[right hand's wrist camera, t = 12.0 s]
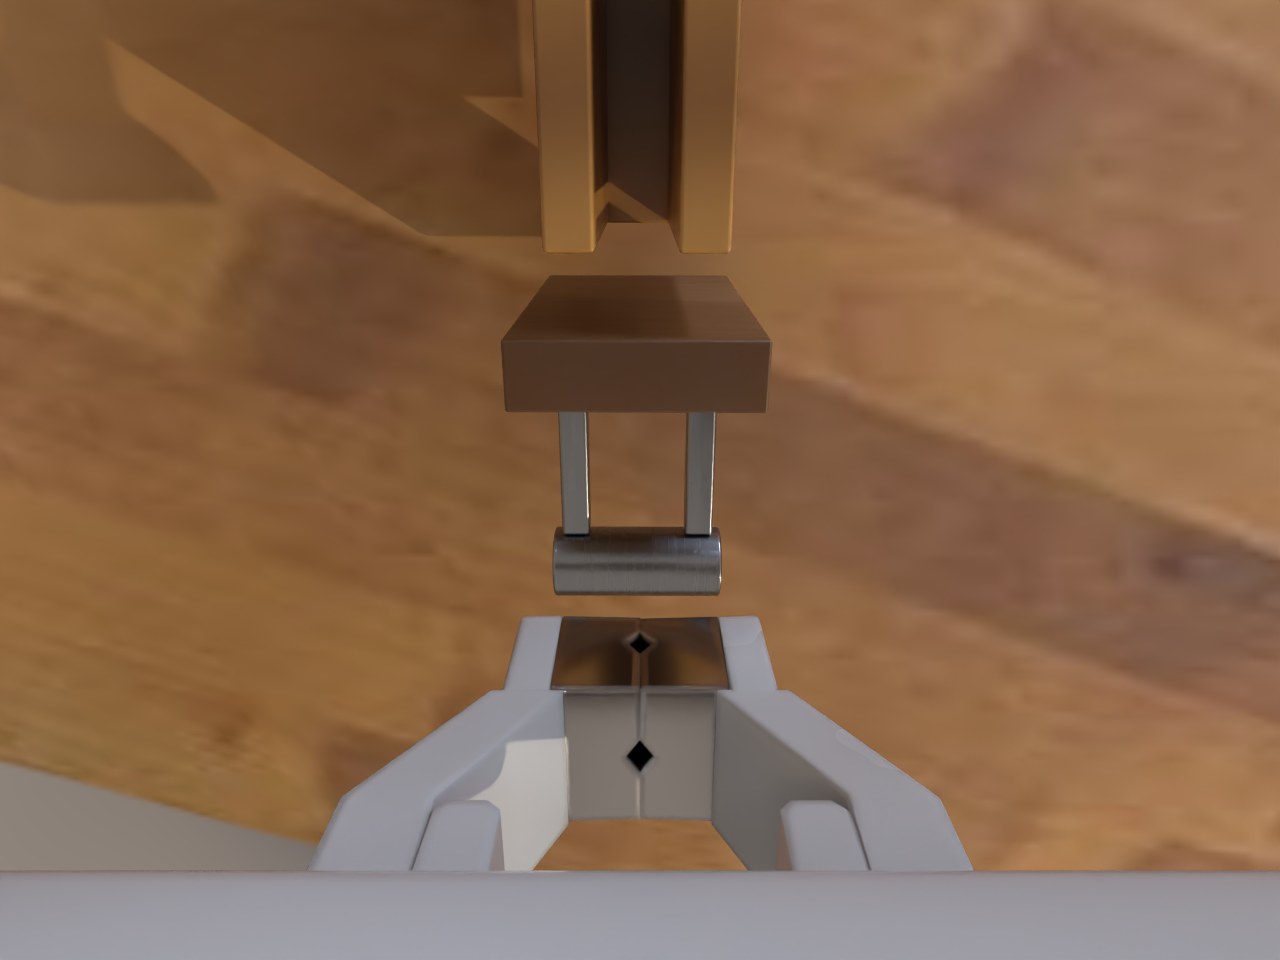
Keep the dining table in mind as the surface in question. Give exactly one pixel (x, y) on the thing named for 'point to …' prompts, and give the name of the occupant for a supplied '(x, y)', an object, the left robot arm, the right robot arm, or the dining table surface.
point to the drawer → (636, 305)
